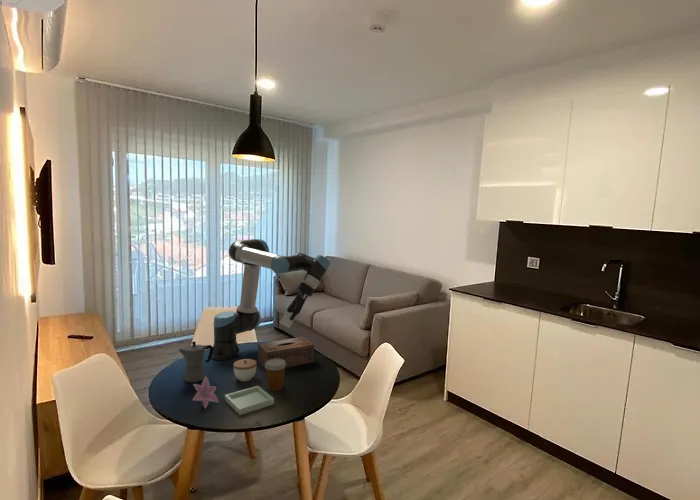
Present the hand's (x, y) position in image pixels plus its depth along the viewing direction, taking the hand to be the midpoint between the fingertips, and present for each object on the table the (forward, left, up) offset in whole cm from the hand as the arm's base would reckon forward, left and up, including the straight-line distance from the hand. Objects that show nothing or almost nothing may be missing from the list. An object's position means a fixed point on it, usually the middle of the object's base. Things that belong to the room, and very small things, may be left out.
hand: (284, 325), depth 179 cm
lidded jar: (-16, -12, -28) cm, 35 cm away
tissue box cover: (-23, +14, -28) cm, 40 cm away
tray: (+7, -20, -28) cm, 35 cm away
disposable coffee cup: (+1, -5, -28) cm, 29 cm away
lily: (-3, -35, -28) cm, 45 cm away
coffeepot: (-30, -30, -28) cm, 51 cm away
